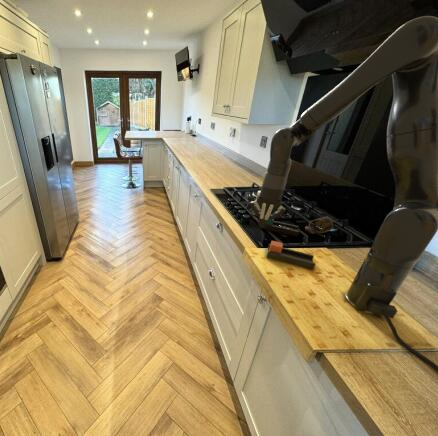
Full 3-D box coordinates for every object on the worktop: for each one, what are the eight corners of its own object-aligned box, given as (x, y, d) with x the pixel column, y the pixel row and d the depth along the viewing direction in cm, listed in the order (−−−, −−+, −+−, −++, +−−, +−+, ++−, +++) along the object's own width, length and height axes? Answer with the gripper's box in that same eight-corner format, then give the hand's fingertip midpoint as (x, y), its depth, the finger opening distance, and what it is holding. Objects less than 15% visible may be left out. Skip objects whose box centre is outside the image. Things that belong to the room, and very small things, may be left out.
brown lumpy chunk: (342, 227, 109) (330, 214, 117) (316, 223, 108) (305, 210, 116) (333, 238, 113) (322, 225, 121) (307, 235, 113) (298, 222, 121)
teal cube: (271, 226, 115) (273, 220, 113) (262, 224, 117) (264, 218, 115) (272, 223, 118) (273, 217, 117) (263, 221, 120) (265, 215, 118)
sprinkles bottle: (258, 212, 134) (264, 190, 128) (262, 216, 130) (268, 193, 124) (250, 212, 134) (256, 190, 128) (254, 216, 130) (260, 193, 124)
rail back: (297, 237, 110) (299, 232, 109) (260, 228, 117) (262, 223, 115) (296, 231, 115) (298, 226, 114) (261, 223, 122) (263, 218, 121)
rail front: (312, 270, 88) (315, 264, 86) (266, 257, 94) (268, 251, 93) (311, 260, 93) (313, 255, 92) (267, 249, 100) (268, 243, 98)
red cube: (280, 255, 93) (282, 247, 91) (269, 252, 94) (271, 244, 93) (280, 250, 96) (282, 243, 94) (269, 247, 97) (271, 240, 96)
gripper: (253, 184, 86) (242, 226, 94) (294, 191, 80) (279, 235, 88) (255, 179, 92) (245, 219, 100) (293, 185, 86) (279, 227, 94)
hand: (261, 226), depth 94 cm, fingers closed
